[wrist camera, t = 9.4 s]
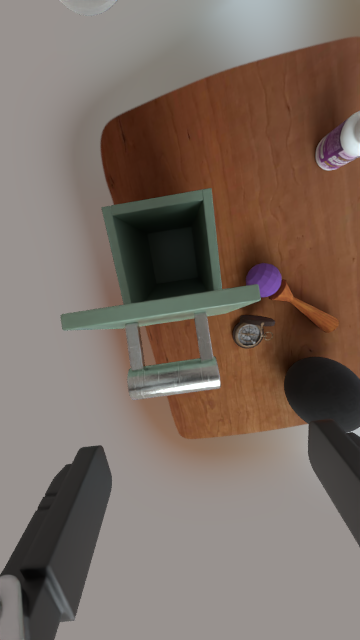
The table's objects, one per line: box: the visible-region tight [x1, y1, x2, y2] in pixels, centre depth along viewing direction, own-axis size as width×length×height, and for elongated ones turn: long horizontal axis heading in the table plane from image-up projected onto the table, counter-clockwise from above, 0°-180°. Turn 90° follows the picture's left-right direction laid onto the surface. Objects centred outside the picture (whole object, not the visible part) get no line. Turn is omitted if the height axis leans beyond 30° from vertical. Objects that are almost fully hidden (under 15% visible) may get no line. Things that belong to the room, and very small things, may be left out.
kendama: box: [246, 263, 339, 333], centre depth 43 cm, size 6×6×20 cm
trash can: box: [102, 188, 222, 305], centre depth 32 cm, size 11×10×23 cm
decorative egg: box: [284, 357, 360, 433], centre depth 43 cm, size 12×12×15 cm
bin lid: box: [61, 284, 261, 400], centre depth 17 cm, size 11×10×5 cm
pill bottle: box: [315, 111, 360, 170], centre depth 34 cm, size 5×5×10 cm
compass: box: [233, 315, 275, 349], centre depth 44 cm, size 8×8×7 cm
